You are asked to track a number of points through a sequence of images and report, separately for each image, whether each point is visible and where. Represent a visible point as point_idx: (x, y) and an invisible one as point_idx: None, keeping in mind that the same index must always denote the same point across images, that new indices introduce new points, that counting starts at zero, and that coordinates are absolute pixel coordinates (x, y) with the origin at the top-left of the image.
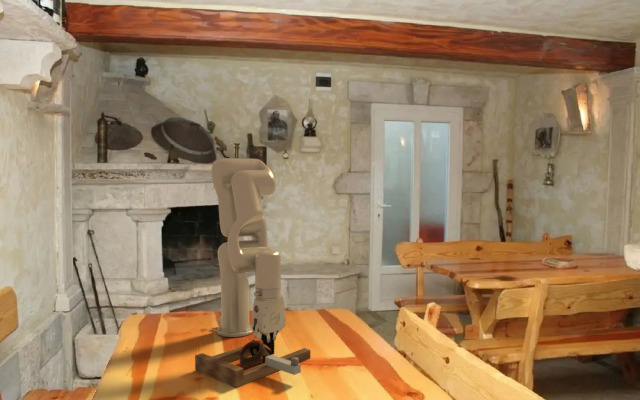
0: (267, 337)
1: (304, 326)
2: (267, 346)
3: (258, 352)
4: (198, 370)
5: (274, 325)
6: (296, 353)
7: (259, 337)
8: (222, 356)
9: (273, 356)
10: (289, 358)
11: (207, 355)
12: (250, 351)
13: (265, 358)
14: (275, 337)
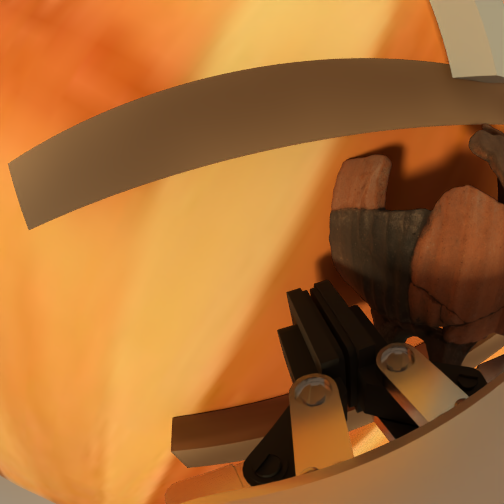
0: (434, 375)
1: (26, 458)
2: (472, 239)
3: None
4: None
5: (484, 499)
6: (147, 128)
7: (498, 362)
8: (491, 337)
9: (496, 38)
10: (276, 65)
11: None
12: (440, 329)
13: None
14: (298, 403)
